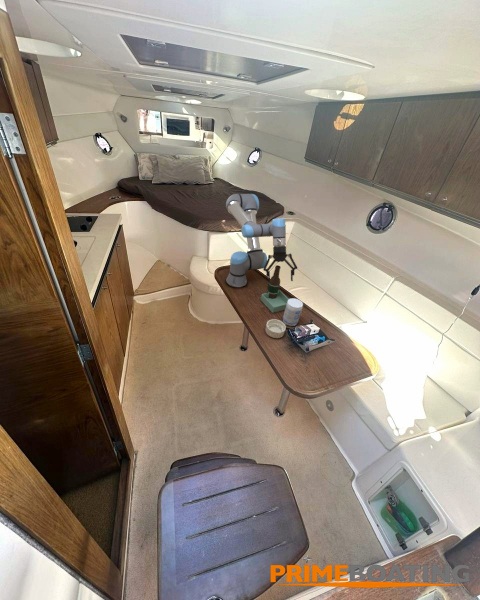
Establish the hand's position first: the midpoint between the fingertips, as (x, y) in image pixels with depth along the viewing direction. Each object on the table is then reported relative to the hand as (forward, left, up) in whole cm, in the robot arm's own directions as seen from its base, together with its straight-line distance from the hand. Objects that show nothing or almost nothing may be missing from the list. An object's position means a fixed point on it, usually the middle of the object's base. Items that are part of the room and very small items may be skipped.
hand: (280, 281), depth 153 cm
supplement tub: (+14, +2, -21) cm, 26 cm away
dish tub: (-4, +4, -21) cm, 22 cm away
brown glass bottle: (-12, +6, -21) cm, 25 cm away
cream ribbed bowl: (+19, -12, -21) cm, 31 cm away
